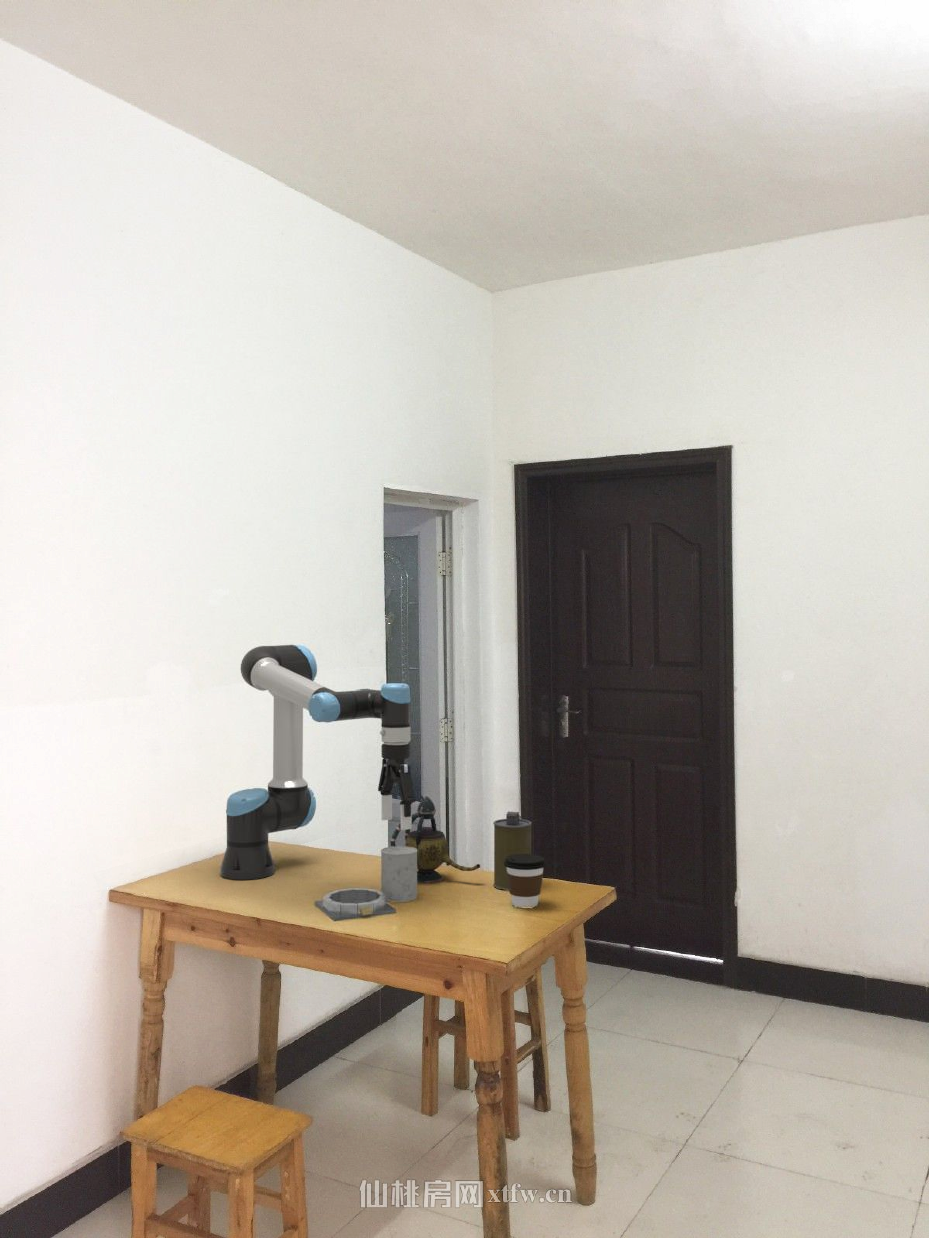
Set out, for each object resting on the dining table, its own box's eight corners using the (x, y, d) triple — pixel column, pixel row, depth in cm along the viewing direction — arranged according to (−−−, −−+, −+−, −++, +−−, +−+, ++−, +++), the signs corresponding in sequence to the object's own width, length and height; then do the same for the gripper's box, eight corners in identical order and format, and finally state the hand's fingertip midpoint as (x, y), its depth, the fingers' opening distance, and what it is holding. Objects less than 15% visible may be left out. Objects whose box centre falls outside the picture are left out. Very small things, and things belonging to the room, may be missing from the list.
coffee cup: (517, 913, 260) (517, 865, 260) (495, 902, 270) (495, 856, 270) (554, 907, 265) (554, 860, 265) (532, 897, 275) (532, 851, 275)
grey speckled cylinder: (422, 893, 278) (422, 847, 278) (409, 903, 269) (409, 855, 269) (389, 890, 281) (389, 844, 281) (375, 900, 272) (375, 852, 272)
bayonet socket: (313, 902, 270) (313, 891, 270) (372, 895, 276) (372, 884, 276) (335, 921, 253) (335, 909, 253) (397, 913, 260) (397, 901, 260)
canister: (528, 892, 280) (528, 817, 280) (490, 889, 282) (490, 815, 282) (534, 881, 291) (534, 809, 290) (497, 879, 293) (497, 807, 292)
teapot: (407, 870, 303) (407, 790, 302) (487, 879, 293) (487, 796, 292) (388, 880, 292) (387, 797, 291) (470, 890, 282) (470, 803, 281)
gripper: (365, 738, 284) (366, 817, 284) (400, 749, 261) (400, 834, 261) (391, 737, 287) (392, 814, 287) (428, 747, 264) (428, 831, 264)
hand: (396, 824), depth 274 cm, fingers open, 13 cm apart
